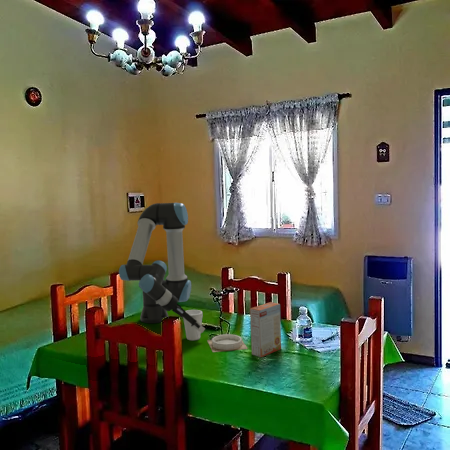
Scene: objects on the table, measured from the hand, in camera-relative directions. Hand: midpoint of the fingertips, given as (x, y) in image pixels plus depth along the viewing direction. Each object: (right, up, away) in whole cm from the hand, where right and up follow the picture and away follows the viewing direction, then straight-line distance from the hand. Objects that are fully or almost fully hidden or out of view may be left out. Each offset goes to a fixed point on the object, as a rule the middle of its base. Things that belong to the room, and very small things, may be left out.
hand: (199, 328), depth 225 cm
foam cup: (-3, -5, -1) cm, 6 cm away
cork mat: (+13, -6, -11) cm, 18 cm away
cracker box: (+31, -6, -21) cm, 38 cm away
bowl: (+13, -5, -11) cm, 18 cm away
